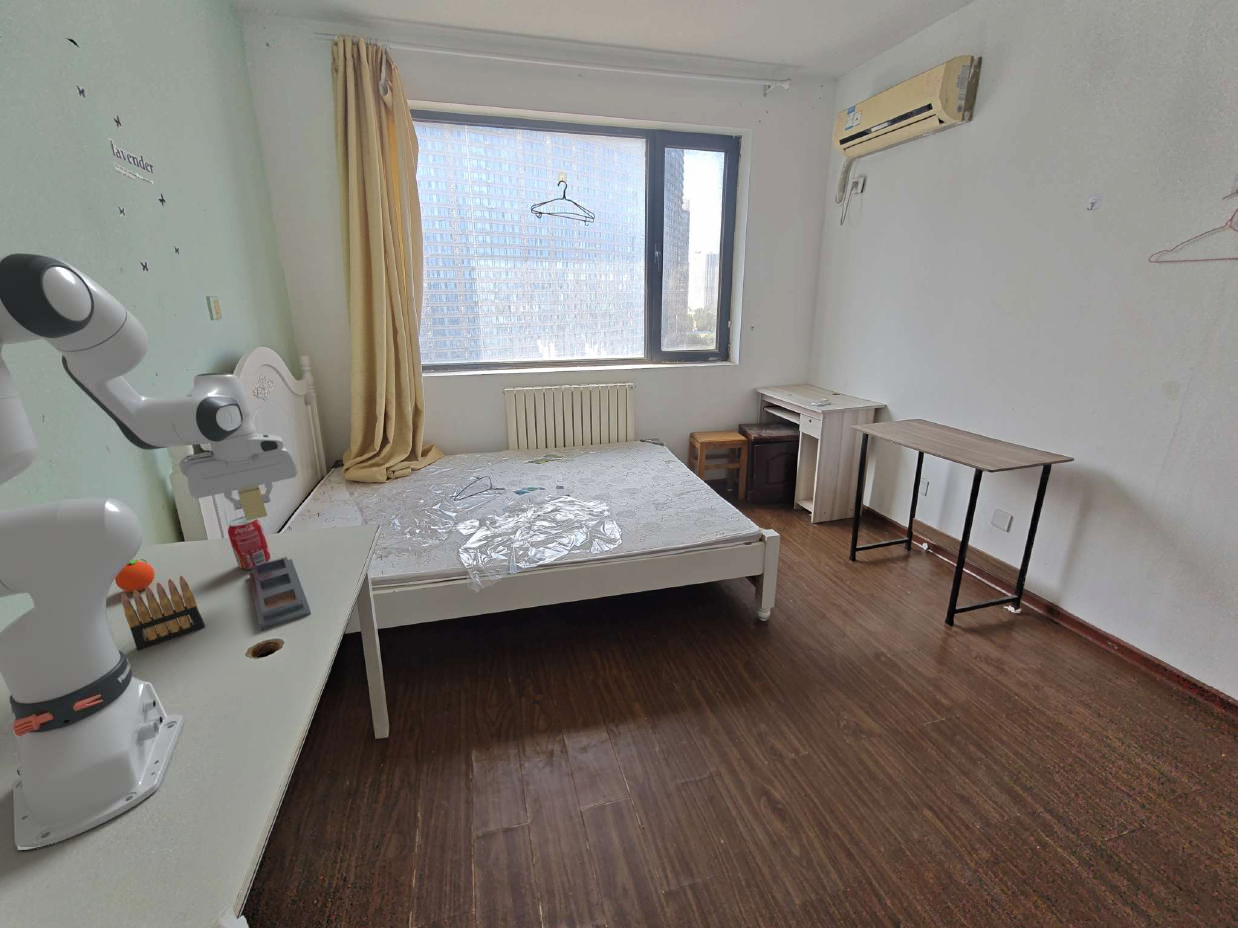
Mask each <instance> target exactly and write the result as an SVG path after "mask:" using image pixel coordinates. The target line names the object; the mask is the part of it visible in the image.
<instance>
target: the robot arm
mask: <svg viewBox="0 0 1238 928" xmlns="http://www.w3.org/2000/svg"><path fill="white" fill-rule="evenodd" d="M148 336H149V335H148V333H147V330H146V329H145V328H144V326H143V324H142V323H141V322H140V321H139V319H138V318H137V317H135V315H134V314H132V313H131V312H130V310H128V309H127V307H125V306H124V305H123V304H122V303H121V302H120V301H119V300H118V299H117V298H115V297H114V296H113V295H112V294H111V293H110V292H109V291H107V290H106V289H105V288H104V287H102V285H100V284H98V283H97V282H96V281H95V280H93V279H92V278H90V277H89V276H88V275H87V274H85V273H84V272H82V271H81V270H79V269H77V268H76V267H75V266H74V265H72V264H71V263H70V264H69V263H68V262H66V261H65V260H61V259H60V258H59V259H58V258H55V257H50V256H46V255H40V254H32V253H19V252H18V253H16V252H15V253H11V254H9V255H8V254H7V255H6V254H5V255H2V254H1V255H0V486H1V485H4V484H6V483H7V482H9V481H10V480H12V479H14V478H15V477H17V476H19V475H20V474H22V473H23V472H25V471H26V470H28V469H29V468H30V467H31V466H32V465H33V464H34V462H35V461H36V459H37V456H38V454H39V445H38V441H37V440H36V436H35V434H34V431H33V429H32V426H31V423H30V420H29V417H28V415H27V412H26V409H25V407H24V403H23V400H22V398H21V396H19V395H20V393H19V391H18V388H17V386H16V383H15V381H14V378H13V376H12V374H11V372H10V370H9V368H8V366H7V364H6V362H5V360H4V359H3V357H2V350H3V346H4V345H11V344H12V345H14V344H19V343H26V342H32V341H38V340H44V341H45V342H47V343H48V344H49V345H51V346H52V347H53V348H54V349H55V350H57V351H58V352H59V353H60V354H61V355H62V356H61V364H62V367H63V369H64V371H65V372H66V374H67V375H68V376H69V378H70V379H71V380H72V381H73V382H74V383H75V384H76V385H77V386H78V387H79V388H80V389H81V391H83V392H84V393H85V394H86V395H87V396H88V397H89V398H90V399H91V400H92V401H93V402H94V403H95V404H96V405H97V406H98V407H99V408H100V409H102V410H103V412H104V413H106V415H107V416H109V417H110V419H112V420H113V422H114V423H115V424H116V426H117V427H118V429H119V430H120V432H121V433H122V434H123V436H124V437H125V438H126V439H127V440H128V441H129V443H131V444H133V446H136V447H138V448H139V449H142V450H145V451H146V450H147V451H151V450H152V451H153V450H159V449H165V448H170V447H183V446H196V445H204V444H205V445H206V444H209V447H210V451H209V450H208V451H204V452H201V453H197V454H188V455H185V457H184V458H182V459H181V460H180V461H179V468H180V469H179V470H180V472H181V474H182V475H183V476H185V477H186V478H187V485H188V490H189V494H190V496H191V497H193V498H194V499H202V498H206V497H210V496H214V495H220V494H223V495H224V498H225V499H226V500H227V501H229V502H230V503H231V504H233V508H234V510H235V511H236V510H241V509H242V510H243V508H242V504H241V501H240V498H239V499H235V497H234V496H233V493H232V492H233V491H238V490H239V489H244V488H248V487H253V486H263V485H264V488H265V489H266V490H265V492H264V493H261V496H262V499H263V503H264V504H267V503H271V497H270V495H271V493H272V490H273V483H276V482H280V481H284V480H289V479H294V478H296V477H297V476H298V474H299V472H298V471H299V470H298V468H297V466H296V465H297V464H296V462H295V460H294V459H293V455H291V452H290V450H288V448H287V447H286V446H285V445H284V444H285V443H284V440H283V438H282V437H280V435H276V434H266V433H265V434H263V433H258V431H257V428H256V426H255V425H254V422H253V421H252V410H251V406H250V401H249V400H248V397H247V394H246V390H245V389H244V386H243V383H241V381H240V378H239V377H238V376H237V375H236V374H234V373H230V372H228V373H227V372H212V373H211V372H210V373H200V374H197V375H195V376H194V377H193V384H194V385H193V386H194V387H193V388H192V390H191V391H190V392H189V393H187V394H186V396H177V397H176V396H175V397H174V396H173V397H150V396H144V395H142V394H139V393H138V392H137V391H136V390H135V388H133V387H132V386H131V384H129V382H128V381H127V380H126V379H125V378H124V377H123V376H124V375H126V374H128V373H130V372H131V371H133V370H134V369H136V367H138V365H139V364H140V363H142V361H143V360H144V358H145V356H146V355H147V351H148V349H149V338H148ZM143 538H144V535H143V526H142V523H141V521H140V518H139V517H138V515H137V514H136V512H135V511H134V510H133V509H132V508H131V507H130V506H128V505H127V504H126V503H124V502H123V501H121V500H119V499H116V498H114V497H85V498H84V497H82V498H79V497H78V498H66V499H59V500H53V501H48V502H43V503H41V502H40V503H38V504H37V503H36V504H32V505H31V504H30V505H25V506H20V507H13V508H9V509H8V508H7V509H0V598H6V597H9V596H13V595H18V594H20V595H21V594H28V595H29V596H30V598H31V599H32V602H33V606H34V607H32V608H30V609H29V610H28V611H26V612H25V613H23V614H21V615H20V616H19V617H17V618H16V619H14V620H13V621H11V622H10V623H9V624H8V625H7V626H5V627H4V628H3V629H2V630H1V631H0V675H1V677H2V680H3V681H4V683H5V685H6V686H7V690H8V691H9V693H10V696H9V703H10V711H11V714H12V717H13V719H14V721H13V727H12V728H13V734H14V735H15V737H16V744H17V753H18V761H19V762H18V763H19V766H18V767H17V770H16V772H17V775H18V776H17V778H15V779H14V781H13V783H12V789H13V790H12V791H13V792H12V793H13V794H12V796H13V799H12V800H13V827H14V828H13V829H14V831H13V833H14V836H13V837H14V845H15V844H16V845H15V847H16V846H20V847H38V846H43V845H44V846H45V845H48V844H51V845H54V844H57V843H60V842H62V841H65V840H68V839H70V838H72V837H74V836H77V835H79V834H82V833H84V832H86V831H88V830H91V829H93V828H96V827H97V826H99V825H101V824H104V823H106V822H108V821H109V820H112V819H113V818H115V817H117V816H119V815H121V814H123V813H125V812H126V811H129V810H130V809H132V808H133V807H135V806H137V805H138V804H140V803H141V802H143V801H144V800H145V799H146V798H149V796H151V795H153V793H155V792H156V791H157V790H158V788H159V787H160V785H161V782H162V780H163V777H164V775H165V772H166V770H167V767H168V764H169V762H170V759H171V757H172V753H173V751H174V749H175V746H176V743H177V740H178V738H179V735H180V733H181V730H182V728H183V726H184V725H183V724H184V722H185V721H184V718H183V717H182V715H180V714H167V713H166V711H165V709H164V706H163V705H162V703H161V701H160V698H159V697H158V695H157V693H156V690H155V688H154V686H153V685H152V683H151V682H149V681H145V680H142V679H139V678H136V677H134V676H133V670H132V668H131V664H130V661H129V659H128V658H127V657H126V655H125V653H124V652H123V651H122V650H119V648H118V646H117V644H116V641H115V638H114V636H113V632H112V629H111V626H110V623H109V622H110V621H109V619H108V615H107V598H108V594H109V590H110V588H111V586H112V584H113V583H114V580H115V578H116V576H117V575H118V574H119V572H120V571H121V570H122V569H123V568H124V567H125V566H126V565H127V564H128V563H129V562H131V561H133V559H134V558H135V557H136V555H137V553H138V552H139V550H140V548H141V545H142V541H143ZM59 841H60V842H59ZM53 843H54V844H53ZM48 846H49V845H48ZM45 847H46V846H45Z"/></svg>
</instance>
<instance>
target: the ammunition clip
mask: <svg viewBox="0 0 1238 928" xmlns="http://www.w3.org/2000/svg"><path fill="white" fill-rule="evenodd" d="M167 583H168V584H167V586H168V587H167V588H168V590H169V595H170V598H169V597H168V594H167V593H166V590H165V588H164V587H163V585H162V584H161V583H160V582H157V583H156V594H157V595H158V599H159V602H158V601H157V599H156V596H155V594H154V592H153V591H152V589H151V588H150V587H149V586H146V587H145V589H144V595H145V597H146V600H147V605H146V603H145V601H144V599H143V596H142V595H141V593H140V592H139V591H137V590H134V591H133V593H132V594H133V595H132V596H133V601H134V603H135V607H136V609H135V608H134V606H133V604H132V602H131V600H130V598H129V597H128V595H127V594H126V593H124V592H122V593H121V597H120V598H121V604H122V607H123V610H124V615H125V619H126V621H127V624H128V626H129V629H130V632H131V635H132V638H133V641H134V644H135V647H136V650H137V651H142V650H144V649H147V648H150V647H152V646H156V645H158V644H162V643H165V642H168V641H170V640H173V639H176V638H179V637H182V636H185V635H188V634H190V633H193V632H197V631H200V630H202V629H206V628H205V627H206V626H205V625H206V624H205V622H204V620H203V617H202V615H201V613H200V611H199V607H198V605H197V602H196V600H195V596H194V594H193V592H192V591H191V588H190V587H189V584H188V582H187V580H186V579H185V578H184V577H183V575H180V576H179V585H180V590H181V593H182V595H181V594H180V592H179V590H178V588H177V585H176V584H175V582H174V581H173V580H172V579H170V578H169V579H168V581H167Z"/></svg>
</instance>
